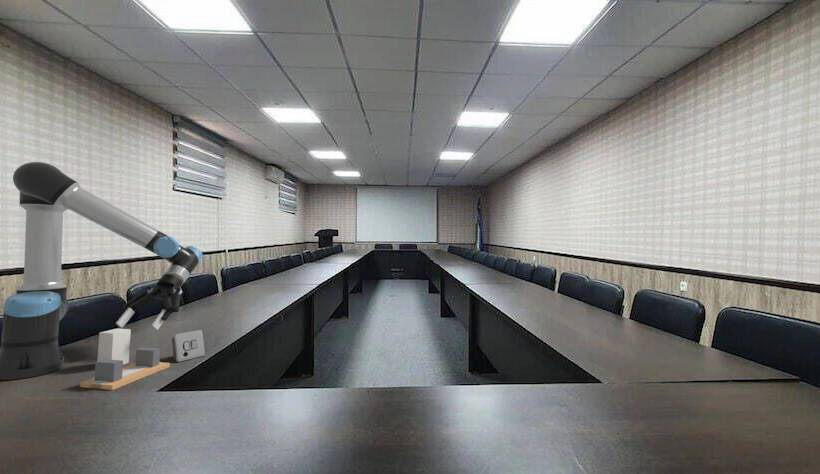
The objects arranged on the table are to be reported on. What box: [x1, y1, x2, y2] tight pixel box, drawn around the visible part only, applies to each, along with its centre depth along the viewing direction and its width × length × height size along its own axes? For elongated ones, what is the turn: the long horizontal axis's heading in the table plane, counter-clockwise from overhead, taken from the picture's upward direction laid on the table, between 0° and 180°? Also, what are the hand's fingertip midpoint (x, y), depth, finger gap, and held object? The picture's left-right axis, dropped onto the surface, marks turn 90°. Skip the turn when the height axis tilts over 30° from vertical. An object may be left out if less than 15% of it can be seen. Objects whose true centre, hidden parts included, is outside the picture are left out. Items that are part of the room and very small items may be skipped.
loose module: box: [97, 328, 132, 365], centre depth 112 cm, size 5×6×11 cm
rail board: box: [79, 347, 171, 391], centre depth 103 cm, size 10×19×6 cm, turn 173°
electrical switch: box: [171, 329, 206, 363], centre depth 121 cm, size 9×5×9 cm, turn 152°
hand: (136, 326), depth 119 cm, fingers open, 13 cm apart
